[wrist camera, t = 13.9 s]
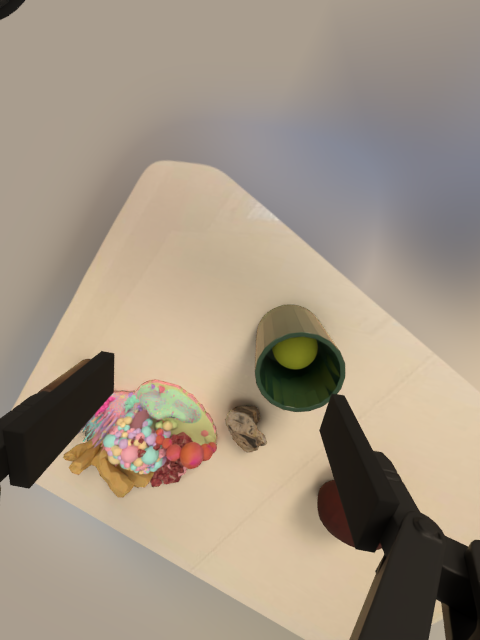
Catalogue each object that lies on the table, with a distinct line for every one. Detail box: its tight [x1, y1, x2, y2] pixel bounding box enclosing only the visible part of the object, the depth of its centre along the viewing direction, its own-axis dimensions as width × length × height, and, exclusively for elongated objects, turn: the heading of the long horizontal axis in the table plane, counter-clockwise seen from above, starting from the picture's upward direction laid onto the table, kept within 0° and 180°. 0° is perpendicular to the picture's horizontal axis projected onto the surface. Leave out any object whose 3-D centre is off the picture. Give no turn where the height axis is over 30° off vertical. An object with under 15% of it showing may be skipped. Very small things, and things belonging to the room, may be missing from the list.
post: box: [38, 359, 90, 393], centre depth 45 cm, size 4×4×10 cm
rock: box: [225, 406, 267, 452], centre depth 48 cm, size 9×7×10 cm
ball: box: [272, 337, 318, 369], centre depth 41 cm, size 7×7×7 cm
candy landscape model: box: [63, 380, 217, 497], centre depth 49 cm, size 25×24×9 cm
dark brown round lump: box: [318, 480, 382, 550], centre depth 49 cm, size 11×13×10 cm
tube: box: [255, 305, 345, 412], centre depth 39 cm, size 11×11×13 cm
